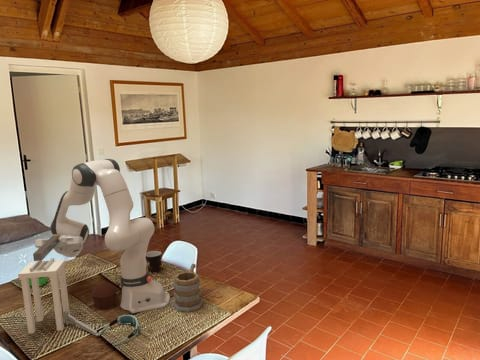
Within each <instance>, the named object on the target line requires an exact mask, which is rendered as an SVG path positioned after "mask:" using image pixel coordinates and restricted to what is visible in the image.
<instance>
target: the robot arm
mask: <svg viewBox="0 0 480 360" xmlns="http://www.w3.org/2000/svg"><path fill="white" fill-rule="evenodd" d="M96 186H98V187H99V188H100V190H101V192H102V196H103V198H104V199H103V200H104V201H105V204H106V209H107V211H108V217H109V219H108V220H109V222H108V223H109V224H108V228H107V230H106V233H105V235H104V243H105V246H106V247H107V249H109V250H110V251H111V252H121V251H124V252H123V254H122V255H121V257H120V261H119V263H120V273H121V275H120V287H121V301H120V307H121V308H122V310H125V311H129V312H130V313H131V314H135V313H139V312H140V313H141V312H146V311H150V310H157V309H161V308H165V307H167V306H168V305H169V304H170V302H171V295H170V293H169V292H168V291H165V288H164V285H163V284H161V282H158V281H157V280H154V279H152V273H151V272H150V273H149V272H148V270H147V262H146V253H147V250H148V246H149V242H150V240H151V238H152V236H153V235H154V233H155V225H154V223H153V221H152V220H151V218H148V217H137V218H134V219H132V220H131V211H132V210H133V208H134V202H133V199H132V198H133V197H132V196H131V193H130V191H129V187H128V185H127V183H126V181H125V178H124V176H123V175H122V173H121V168H120V165H119V164H118V161H116V160H115V159H112V158H104V159H97V160H95V159H94V160H91V161H87V162H81V163H79V164H76V165H75V166H73V168H72V170H71V179H70V186H69V190H67V191H65V192H64V193H63V194H62V196H61V197H60V199H59V202H58V205H57V208H56V212H55V215H54V218H53V219H52V222H51V224H50V227H49V230H50V233H51V234H52V235H54V234H60V235H61V237H60V238H58V242H59V243H58V244H57V245H56V246H55V247H54V248H53V249H52V250H54V251H55V252H56V253H57V254H59V255H62V256H64V257H66V258H75V257H77V256H78V255H79V254H80V253H81V251H83V247H84V245H85V244H86V242H87V240H88V239H89V237H90V229H89V226H88V225H87V224H86V223H83V222H79V221H76V220H74V219H70V218H68V217H67V213H68V210H69V207H70V206H83V205H86V204H88V203H89V202H90V201H92V200H93V198H94V196H95V190H96ZM49 238H50V237H47V238H38V239H35V241H34V247H35V248H37V249H39V248H40V247H41V246H42V245H43V244H44V243H45V242H46V241H47V240H48V239H49Z"/></svg>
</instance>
